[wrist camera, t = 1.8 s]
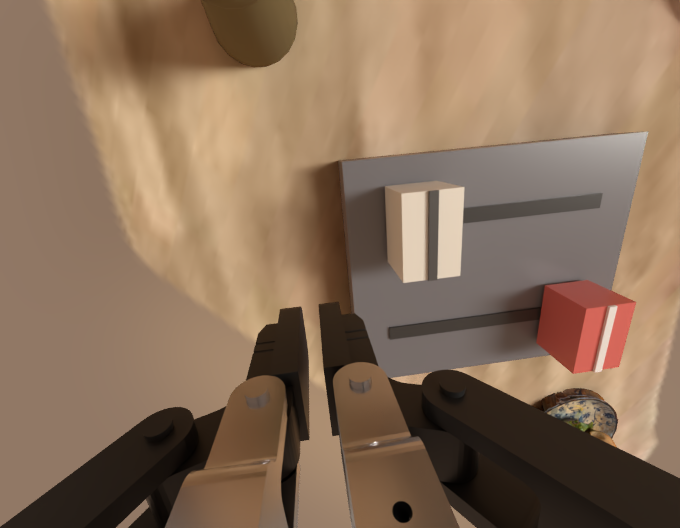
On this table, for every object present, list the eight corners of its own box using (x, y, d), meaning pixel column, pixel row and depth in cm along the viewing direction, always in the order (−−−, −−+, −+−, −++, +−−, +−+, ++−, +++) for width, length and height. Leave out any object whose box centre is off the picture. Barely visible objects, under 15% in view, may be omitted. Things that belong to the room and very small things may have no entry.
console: (338, 160, 26) (342, 161, 23) (612, 133, 27) (650, 131, 24) (355, 362, 33) (360, 383, 30) (573, 331, 34) (599, 349, 31)
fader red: (545, 285, 28) (588, 310, 23) (587, 279, 28) (638, 303, 24) (536, 342, 30) (575, 375, 25) (576, 337, 30) (621, 368, 26)
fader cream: (384, 186, 23) (402, 194, 19) (436, 180, 24) (465, 187, 19) (387, 261, 25) (404, 284, 21) (435, 255, 26) (461, 277, 21)
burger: (526, 389, 37) (577, 446, 30) (618, 383, 38) (688, 436, 31) (506, 464, 41) (548, 529, 34) (590, 456, 42) (647, 517, 35)
